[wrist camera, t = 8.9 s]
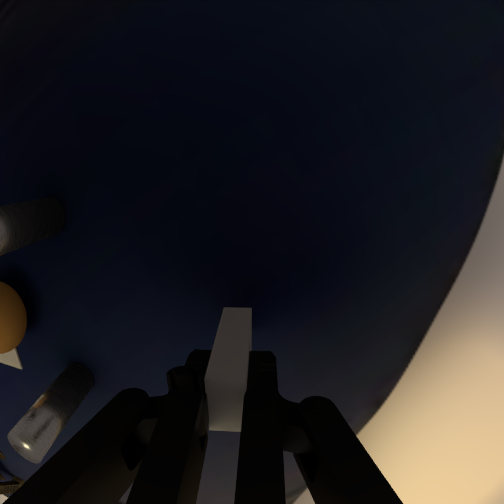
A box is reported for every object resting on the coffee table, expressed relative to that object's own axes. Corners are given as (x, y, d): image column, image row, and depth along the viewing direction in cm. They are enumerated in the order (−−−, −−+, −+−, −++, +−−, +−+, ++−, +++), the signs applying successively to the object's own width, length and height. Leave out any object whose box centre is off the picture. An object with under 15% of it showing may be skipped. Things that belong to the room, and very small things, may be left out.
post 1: (36, 198, 18) (-63, 219, 9) (63, 196, 18) (-39, 216, 9) (39, 235, 19) (-55, 271, 10) (66, 235, 19) (-31, 274, 10)
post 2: (63, 360, 21) (1, 428, 12) (90, 365, 21) (30, 440, 12) (71, 386, 22) (17, 455, 13) (97, 391, 22) (46, 468, 13)
